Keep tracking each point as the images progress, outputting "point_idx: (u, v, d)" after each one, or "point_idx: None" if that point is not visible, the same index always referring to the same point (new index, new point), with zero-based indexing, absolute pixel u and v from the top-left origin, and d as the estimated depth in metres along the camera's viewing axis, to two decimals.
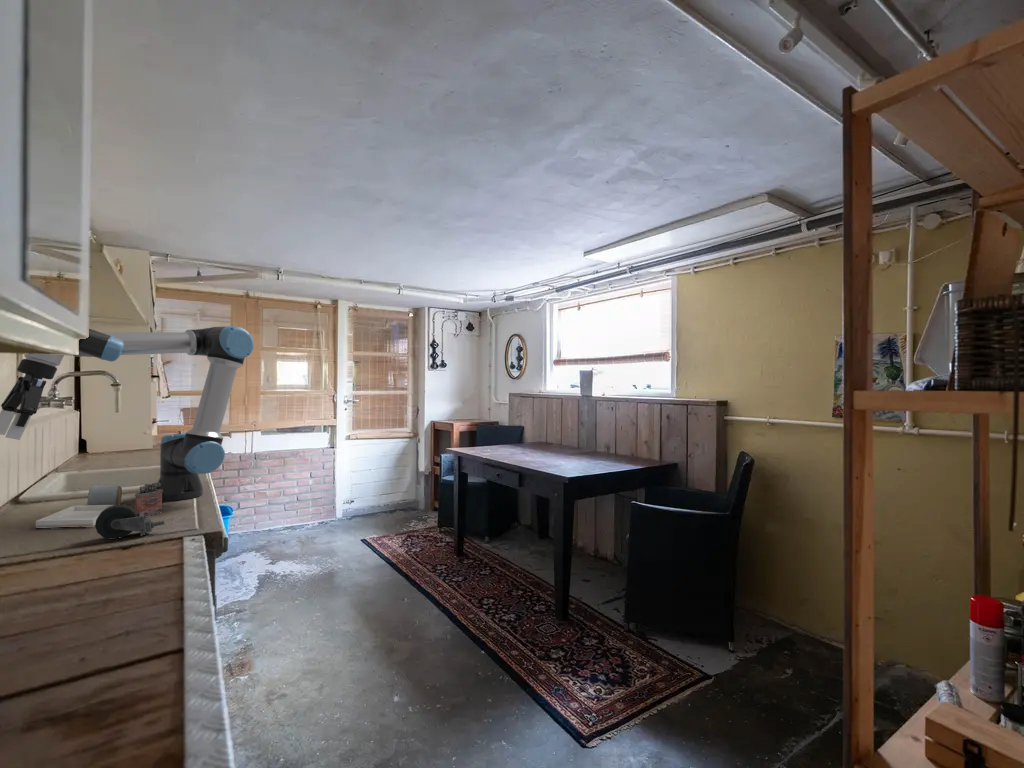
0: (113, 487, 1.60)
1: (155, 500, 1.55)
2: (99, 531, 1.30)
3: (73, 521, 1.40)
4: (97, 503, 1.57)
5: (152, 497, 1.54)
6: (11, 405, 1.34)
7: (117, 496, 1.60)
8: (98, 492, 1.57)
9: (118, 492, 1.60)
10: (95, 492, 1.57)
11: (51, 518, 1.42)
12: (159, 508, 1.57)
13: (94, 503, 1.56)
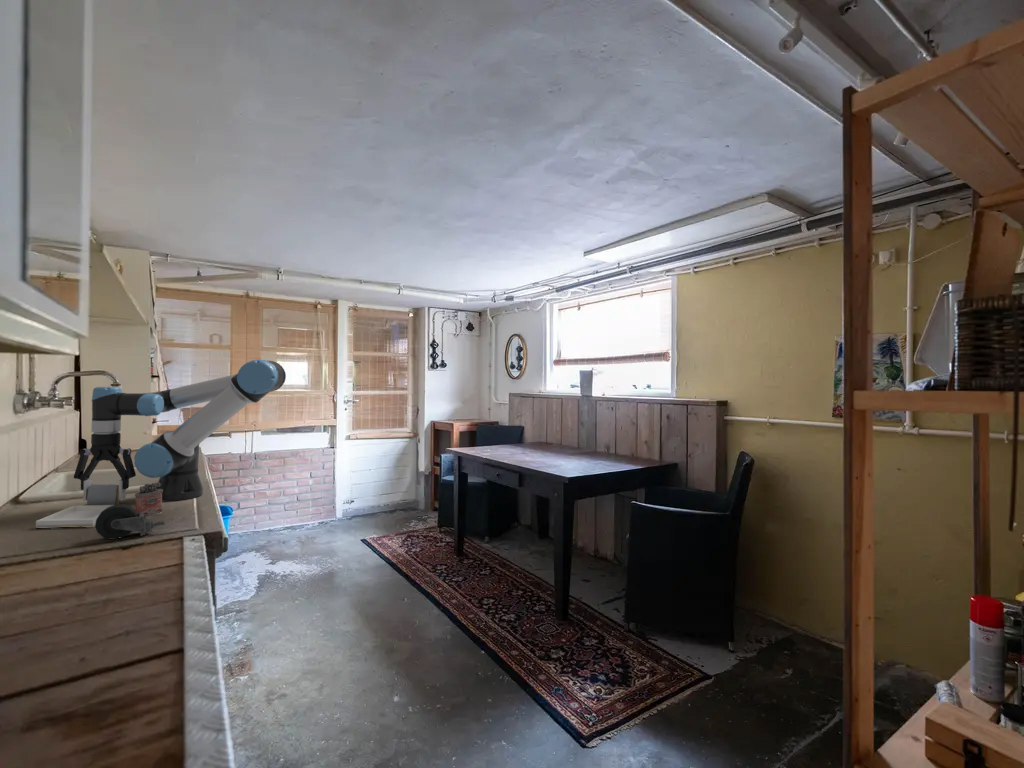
0: (112, 486, 1.61)
1: (155, 500, 1.55)
2: (99, 531, 1.30)
3: (73, 521, 1.40)
4: (96, 502, 1.57)
5: (152, 497, 1.54)
6: None
7: (116, 495, 1.60)
8: (97, 491, 1.58)
9: (117, 491, 1.61)
10: (94, 491, 1.57)
11: (51, 518, 1.42)
12: (159, 508, 1.57)
13: (93, 502, 1.57)
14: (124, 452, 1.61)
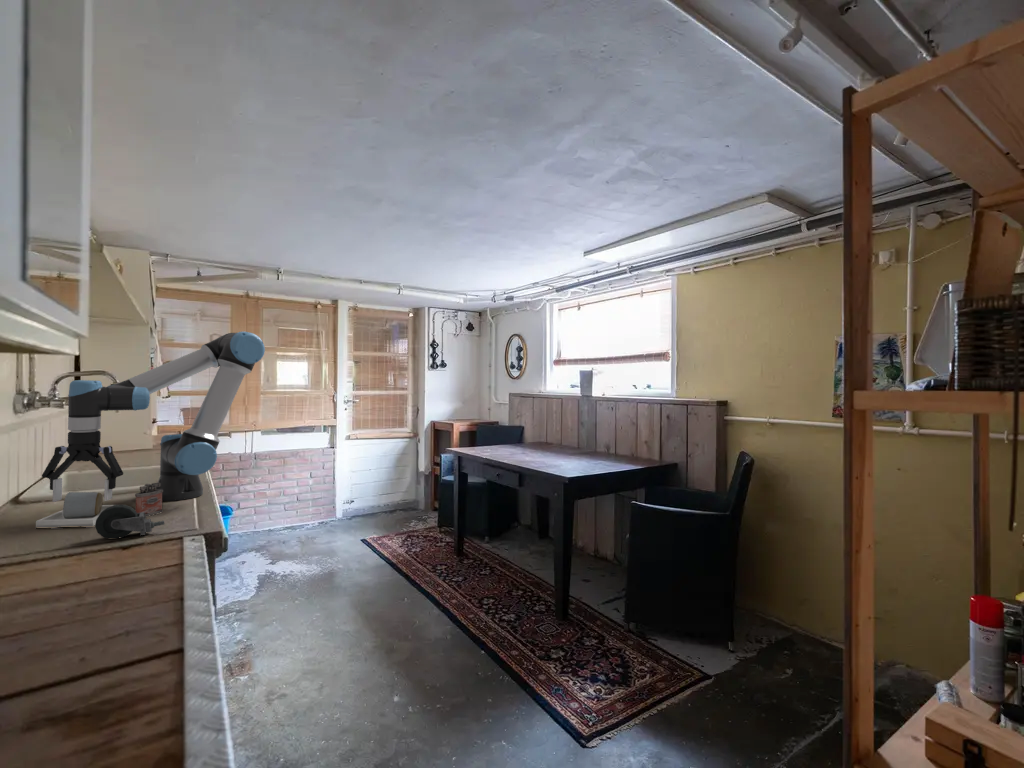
0: (92, 494, 1.47)
1: (155, 500, 1.55)
2: (99, 531, 1.30)
3: (73, 521, 1.40)
4: (74, 512, 1.43)
5: (152, 497, 1.54)
6: None
7: (96, 504, 1.46)
8: (75, 500, 1.44)
9: (97, 500, 1.47)
10: (72, 500, 1.43)
11: (51, 518, 1.42)
12: (159, 508, 1.57)
13: (70, 512, 1.43)
14: (104, 450, 1.47)
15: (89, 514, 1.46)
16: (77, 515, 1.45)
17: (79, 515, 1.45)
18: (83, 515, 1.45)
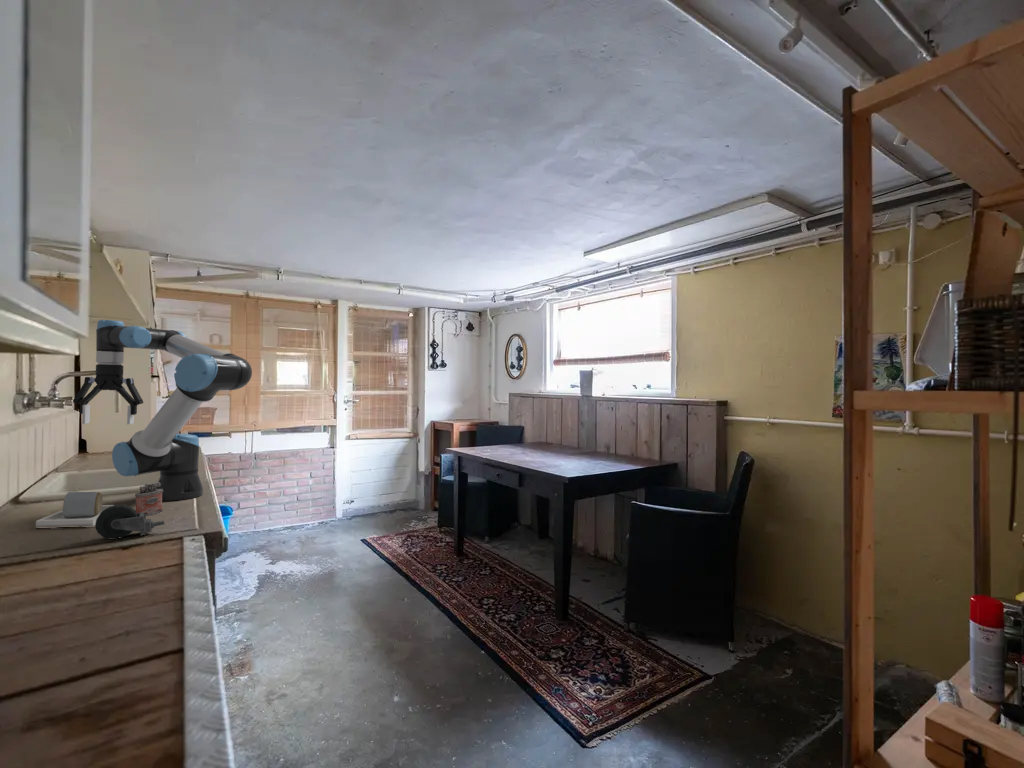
0: (92, 494, 1.47)
1: (155, 500, 1.55)
2: (99, 531, 1.30)
3: (73, 521, 1.40)
4: (73, 511, 1.44)
5: (152, 497, 1.54)
6: None
7: (95, 504, 1.46)
8: (75, 499, 1.44)
9: (97, 499, 1.47)
10: (71, 499, 1.44)
11: (51, 518, 1.42)
12: (159, 508, 1.57)
13: (70, 511, 1.43)
14: (127, 381, 1.70)
15: (89, 514, 1.46)
16: (77, 515, 1.45)
17: (79, 515, 1.45)
18: (83, 515, 1.46)
